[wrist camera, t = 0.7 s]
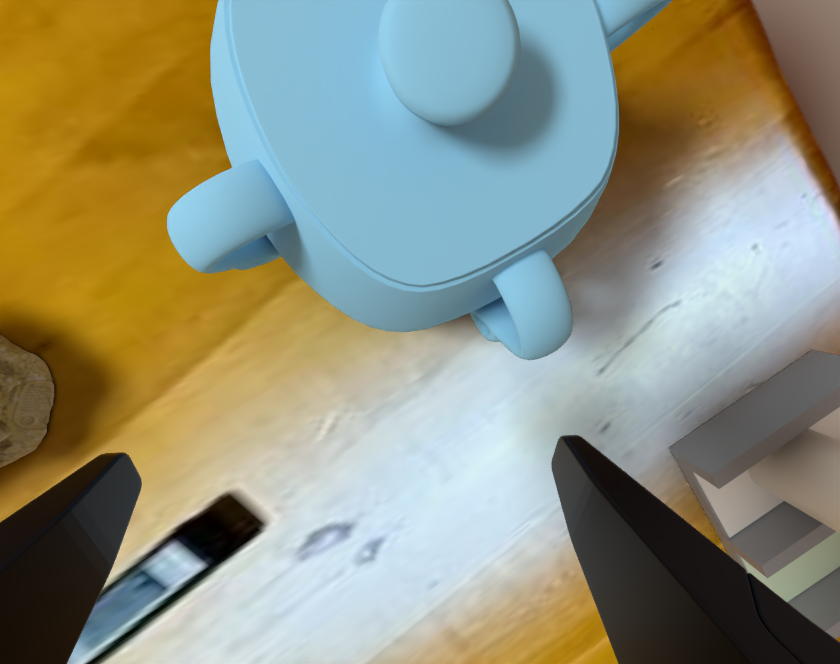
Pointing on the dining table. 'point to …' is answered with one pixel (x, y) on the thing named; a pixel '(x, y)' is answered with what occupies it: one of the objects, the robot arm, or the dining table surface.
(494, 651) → the dining table surface
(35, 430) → the ceramic model
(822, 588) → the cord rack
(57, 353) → the dining table surface
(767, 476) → the white capped canister
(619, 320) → the dining table surface
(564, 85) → the decorative pot
